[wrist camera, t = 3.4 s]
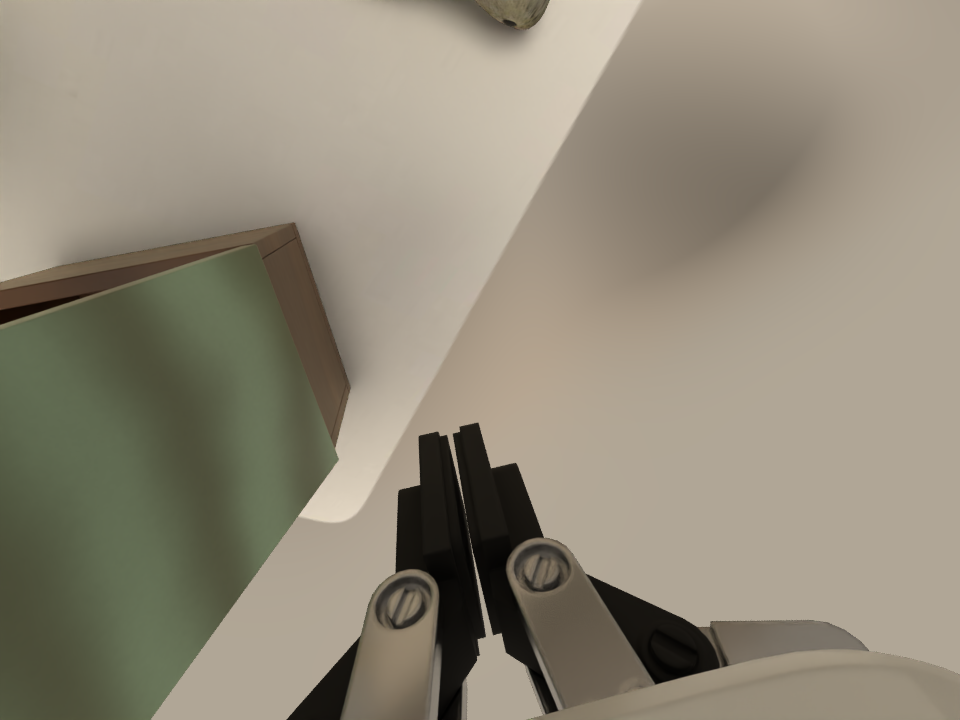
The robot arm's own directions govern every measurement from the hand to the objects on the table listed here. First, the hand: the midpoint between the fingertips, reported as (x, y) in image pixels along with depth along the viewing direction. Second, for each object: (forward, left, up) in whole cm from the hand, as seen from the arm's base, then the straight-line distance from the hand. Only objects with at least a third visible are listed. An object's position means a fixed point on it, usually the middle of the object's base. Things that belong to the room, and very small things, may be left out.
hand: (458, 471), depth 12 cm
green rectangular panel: (-10, 0, -4) cm, 10 cm away
